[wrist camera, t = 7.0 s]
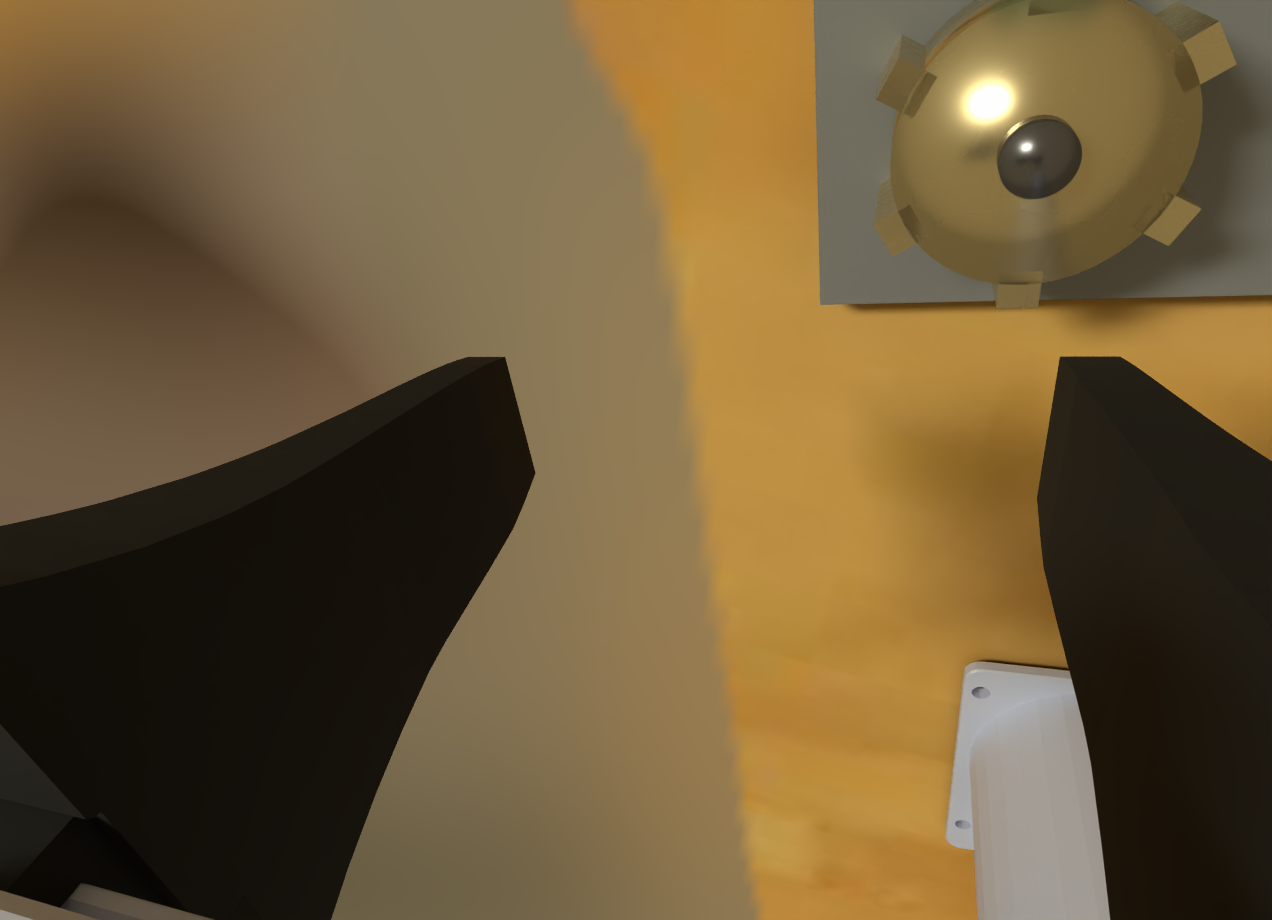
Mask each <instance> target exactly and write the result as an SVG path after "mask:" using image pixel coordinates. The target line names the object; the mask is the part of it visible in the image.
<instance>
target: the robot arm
mask: <svg viewBox="0 0 1272 920" xmlns="http://www.w3.org/2000/svg"><path fill="white" fill-rule="evenodd" d="M534 475H535V470H534V466H533V462H532V458H531V454H530V451H529V447H528V443H527V439H526V435H525V432H524V428H523V424H522V420H521V416H520V412H519V409H518V405H517V401H516V397H515V393H514V390H513V386H512V382H511V378H510V374H509V371H508V367H507V363H506V359H505V357H467V358H463V359H460V360H457V361H454V362H451V363H448V364H446V365H443V366H441V367H439V368H436V369H434V370H431V371H429V372H427V373H425V374H422V375H420V376H418V377H416V378H414V379H412V380H410V381H408V382H406V383H403V384H401V385H400V386H397V387H395V388H393V389H391V390H389V391H387V392H385V393H383V394H381V395H379V396H377V397H375V398H373V399H370V400H368V401H367V402H364V403H362V404H360V405H358V406H356V407H354V408H352V409H350V410H348V411H346V412H344V413H342V414H339V415H337V416H335V417H333V418H331V419H329V420H326V421H324V422H322V423H320V424H318V425H315V426H313V427H311V428H309V429H307V430H304V431H302V432H300V433H298V434H296V435H294V436H291V437H289V438H287V439H285V440H283V441H280V442H278V443H276V444H273V445H271V446H268V447H266V448H264V449H261V450H259V451H256V452H254V453H251V454H249V455H246V456H244V457H241V458H239V459H236V460H233V461H230V462H228V463H225V464H222V465H220V466H217V467H214V468H211V469H208V470H206V471H203V472H200V473H197V474H194V475H191V476H189V477H186V478H183V479H179V480H176V481H172V482H169V483H166V484H163V485H159V486H156V487H152V488H149V489H146V490H143V491H139V492H136V493H133V494H129V495H126V496H123V497H119V498H116V499H113V500H109V501H106V502H102V503H98V504H94V505H90V506H86V507H82V508H78V509H74V510H70V511H66V512H62V513H58V514H54V515H49V516H45V517H40V518H36V519H31V520H27V521H23V522H18V523H13V524H8V525H4V526H0V920H331V918H332V915H333V912H334V909H335V906H336V903H337V900H338V897H339V894H340V891H341V887H342V885H343V881H344V879H345V875H346V872H347V869H348V867H349V864H350V861H351V859H352V856H353V853H354V851H355V848H356V845H357V842H358V840H359V837H360V834H361V832H362V829H363V826H364V824H365V821H366V818H367V816H368V813H369V810H370V808H371V805H372V802H373V800H374V797H375V794H376V791H377V789H378V787H379V785H380V782H381V780H382V777H383V775H384V772H385V770H386V768H387V765H388V763H389V761H390V758H391V756H392V753H393V751H394V749H395V746H396V744H397V741H398V739H399V737H400V734H401V732H402V730H403V727H404V725H405V723H406V721H407V719H408V716H409V714H410V712H411V710H412V708H413V706H414V703H415V701H416V699H417V697H418V695H419V692H420V690H421V688H422V686H423V684H424V681H425V679H426V677H427V675H428V673H429V671H430V669H431V667H432V665H433V663H434V661H435V660H436V658H437V656H438V654H439V652H440V651H441V649H442V647H443V645H444V643H445V641H446V640H447V638H448V637H449V635H450V633H451V632H452V630H453V629H454V627H455V625H456V623H457V622H458V620H459V619H460V617H461V615H462V614H463V612H464V610H465V609H466V607H467V605H468V604H469V602H470V600H471V599H472V597H473V595H474V594H475V592H476V590H477V589H478V587H479V586H480V584H481V582H482V581H483V579H484V577H485V576H486V574H487V572H488V571H489V569H490V567H491V566H492V564H493V562H494V560H495V559H496V557H497V555H498V554H499V552H500V550H501V549H502V547H503V545H504V544H505V542H506V540H507V538H508V537H509V535H510V533H511V531H512V530H513V527H514V525H515V523H516V521H517V518H518V516H519V514H520V511H521V509H522V507H523V504H524V502H525V499H526V497H527V494H528V491H529V489H530V486H531V483H532V481H533V478H534ZM1037 502H1038V514H1039V526H1040V537H1041V547H1042V556H1043V566H1044V570H1045V575H1046V579H1047V583H1048V587H1049V591H1050V595H1051V599H1052V604H1053V608H1054V612H1055V616H1056V620H1057V624H1058V628H1059V632H1060V636H1061V640H1062V644H1063V648H1064V652H1065V655H1066V659H1067V663H1068V667H1069V671H1066V670H1056V669H1047V668H1038V667H1029V666H1019V665H1010V664H1001V663H992V662H974V663H970V664H969V665H968V666H966V667H965V670H964V675H963V683H962V692H961V701H960V709H959V718H958V727H957V735H956V744H955V753H954V761H953V770H952V779H951V787H950V796H949V805H948V813H947V822H946V840H947V841H948V842H949V843H950V844H951V845H953V846H955V847H959V848H964V849H970V850H974V861H975V879H976V898H977V916H978V920H1272V461H1270V460H1269V459H1267V458H1266V457H1264V456H1263V455H1261V454H1260V453H1258V452H1257V451H1255V450H1253V449H1252V448H1250V447H1249V446H1247V445H1246V444H1244V443H1243V442H1241V441H1240V440H1238V439H1237V438H1235V437H1234V436H1232V435H1231V434H1229V433H1228V432H1226V431H1225V430H1224V429H1222V428H1221V427H1219V426H1218V425H1216V424H1215V423H1214V422H1212V421H1211V420H1209V419H1208V418H1206V417H1205V416H1204V415H1202V414H1201V413H1199V412H1198V411H1197V410H1195V409H1194V408H1192V407H1191V406H1190V405H1188V404H1187V403H1185V402H1184V401H1183V400H1181V399H1180V398H1179V397H1177V396H1176V395H1175V394H1173V393H1172V392H1170V391H1169V390H1168V389H1166V388H1165V387H1164V386H1162V385H1161V384H1159V383H1158V382H1157V381H1155V380H1154V379H1153V378H1151V377H1150V376H1148V375H1147V374H1146V373H1144V372H1143V371H1141V370H1140V369H1139V368H1137V367H1136V366H1134V365H1133V364H1131V363H1130V362H1128V361H1126V360H1125V359H1123V358H1121V357H1060V360H1059V366H1058V372H1057V379H1056V385H1055V391H1054V397H1053V403H1052V409H1051V415H1050V422H1049V428H1048V434H1047V440H1046V446H1045V452H1044V458H1043V465H1042V471H1041V477H1040V483H1039V489H1038V495H1037ZM976 687H983V688H976Z"/></svg>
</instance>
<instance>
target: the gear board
mask: <svg viewBox="0 0 1272 920" xmlns="http://www.w3.org/2000/svg"><path fill="white" fill-rule="evenodd" d="M814 29H815V76H816V123H817V170H818V217H819V264H820V305H833V304H878V303H924V302H970V301H995V304H996V309H1001V308H1038V305H1039V300H1062V299H1108V298H1154V297H1199V296H1245V295H1272V0H814Z"/></svg>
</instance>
